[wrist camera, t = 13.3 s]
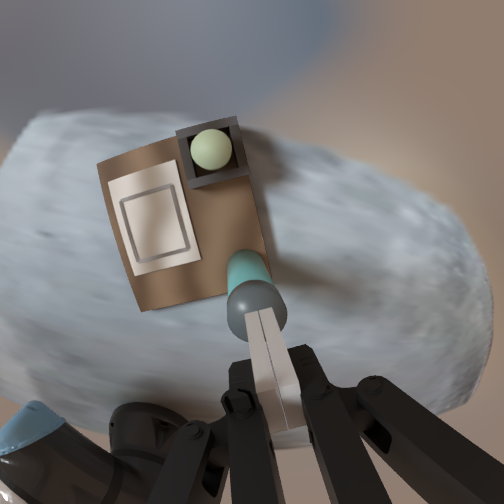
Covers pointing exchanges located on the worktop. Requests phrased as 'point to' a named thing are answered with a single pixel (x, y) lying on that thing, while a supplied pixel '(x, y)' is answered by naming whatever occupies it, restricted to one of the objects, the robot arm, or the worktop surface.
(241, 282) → the marker
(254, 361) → the robot arm
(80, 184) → the worktop surface
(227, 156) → the button
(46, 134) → the worktop surface
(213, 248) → the clipboard
